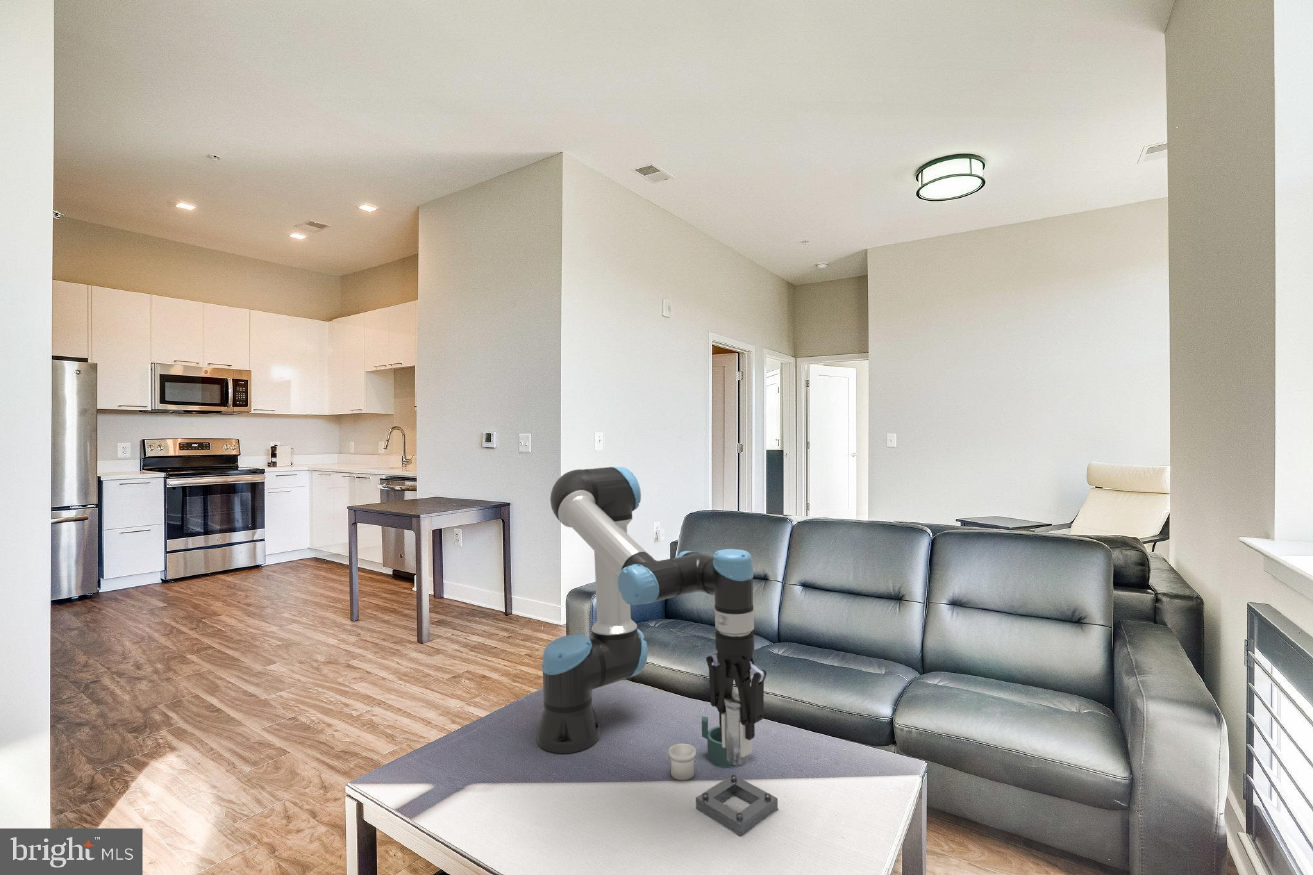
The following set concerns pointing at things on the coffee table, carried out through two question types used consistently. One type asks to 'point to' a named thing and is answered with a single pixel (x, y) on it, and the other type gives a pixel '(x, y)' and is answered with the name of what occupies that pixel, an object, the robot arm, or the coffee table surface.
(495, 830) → the coffee table surface
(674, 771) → the cup
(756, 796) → the socket
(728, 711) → the grey cylinder
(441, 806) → the coffee table surface
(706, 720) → the green cup holder
